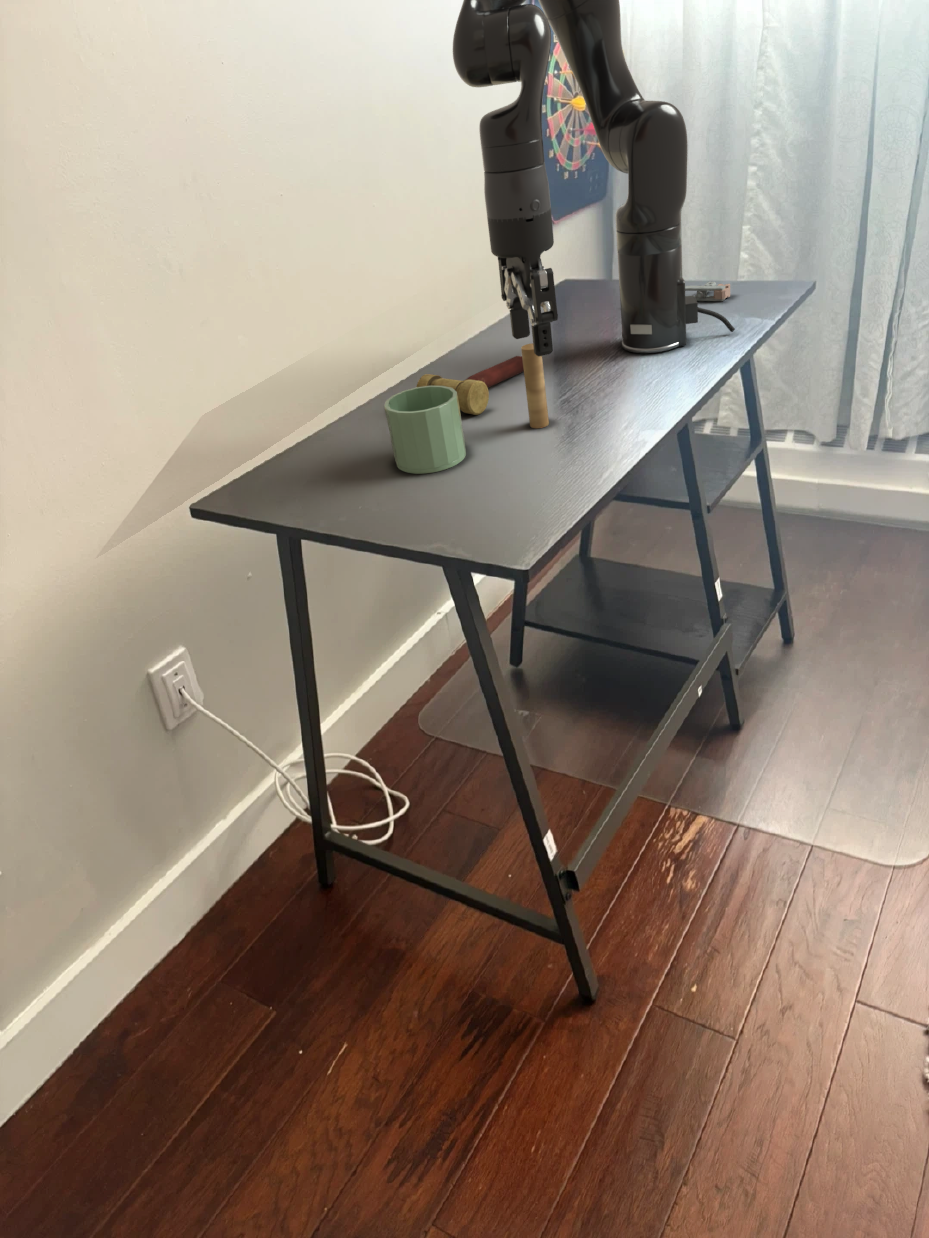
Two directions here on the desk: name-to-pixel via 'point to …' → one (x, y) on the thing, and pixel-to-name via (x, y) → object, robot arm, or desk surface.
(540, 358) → the stick
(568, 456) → the desk surface
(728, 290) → the clamp
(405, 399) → the cup
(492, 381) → the gavel
